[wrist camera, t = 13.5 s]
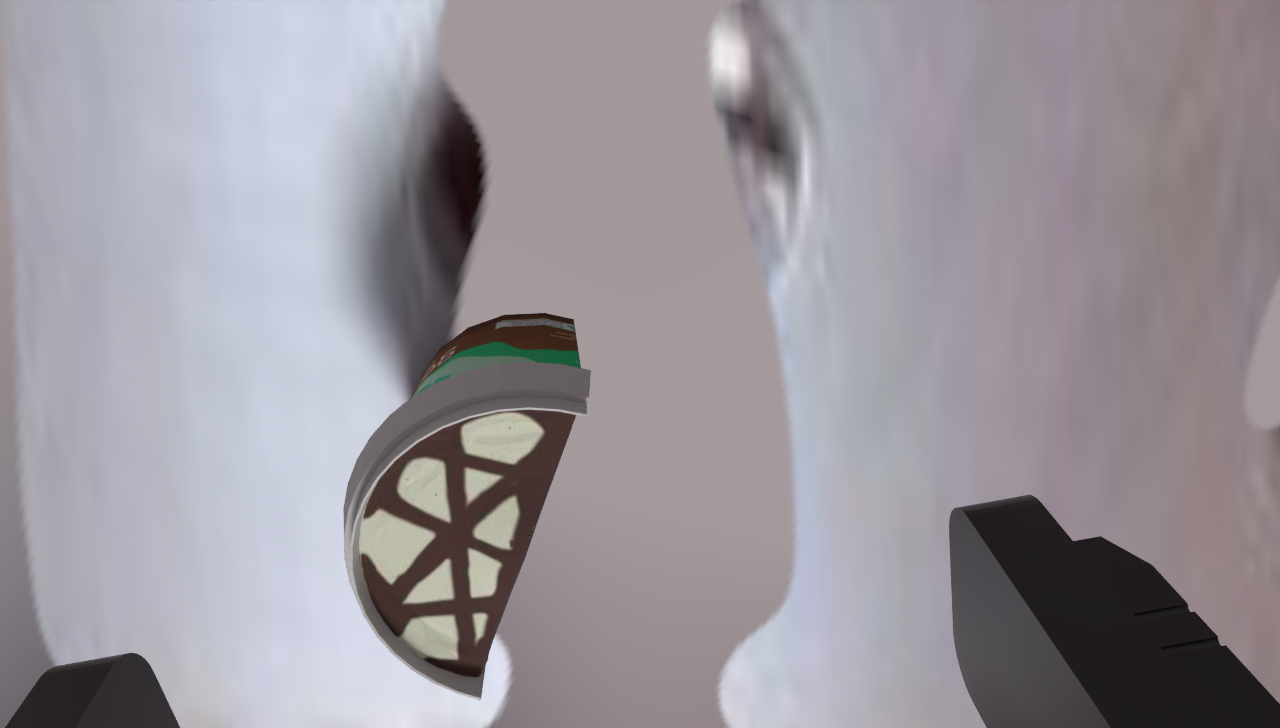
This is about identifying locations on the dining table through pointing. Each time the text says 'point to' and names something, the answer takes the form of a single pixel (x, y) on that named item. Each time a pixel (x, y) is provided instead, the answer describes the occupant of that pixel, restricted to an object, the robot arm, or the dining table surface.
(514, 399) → the food container
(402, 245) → the dining table surface
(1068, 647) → the robot arm
